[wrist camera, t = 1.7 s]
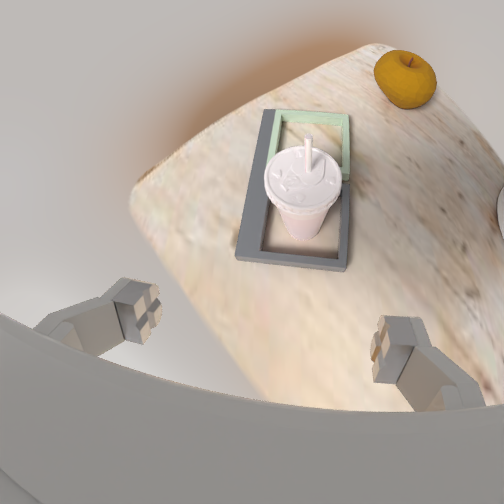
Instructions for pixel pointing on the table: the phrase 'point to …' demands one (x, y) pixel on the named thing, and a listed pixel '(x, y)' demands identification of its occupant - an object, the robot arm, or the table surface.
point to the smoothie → (303, 187)
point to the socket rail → (259, 200)
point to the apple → (405, 78)
